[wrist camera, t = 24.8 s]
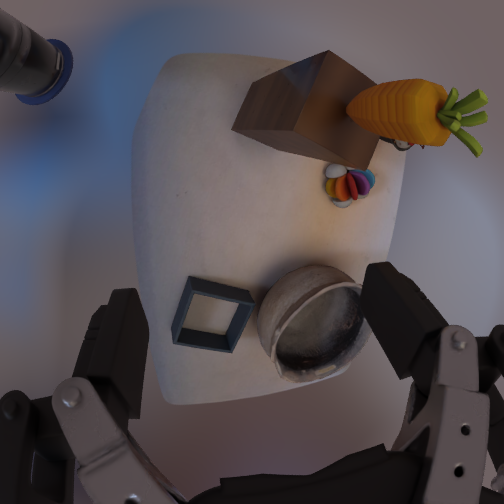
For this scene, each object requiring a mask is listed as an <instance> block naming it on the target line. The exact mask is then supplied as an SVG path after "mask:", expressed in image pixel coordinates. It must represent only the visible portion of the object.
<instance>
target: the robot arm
mask: <svg viewBox="0 0 504 504" xmlns="http://www.w3.org/2000/svg"><path fill="white" fill-rule="evenodd" d="M64 65H65V60H64V55H63V53H62V52H61V50H60V49H59V48H57V47H56V46H54V45H52V44H51V43H50V42H48V41H47V40H45V39H44V38H43V37H41V36H40V35H39V34H37V33H36V32H34V31H33V30H32V29H30V28H28V27H27V26H26V25H24V24H23V23H22V22H20V21H19V20H17V19H16V18H14V17H13V16H11V15H10V14H8V13H7V12H5V11H4V10H2V9H1V8H0V91H4V92H10V93H15V94H20V95H25V96H27V97H39V96H42V95H44V94H46V93H48V92H49V91H50V90H51V89H52V88H53V87H54V86H55V85H56V84H57V83H58V81H59V80H60V78H61V76H62V73H63V70H64ZM359 303H360V309H361V312H362V314H363V316H364V317H365V319H366V321H367V323H368V324H369V326H370V328H371V329H372V331H373V333H374V335H375V336H376V338H377V340H378V341H379V343H380V345H381V347H382V348H383V350H384V352H385V354H386V356H387V357H388V359H389V361H390V363H391V364H392V366H393V368H394V370H395V372H396V374H397V375H398V377H399V379H400V380H401V379H404V378H407V377H410V376H412V378H413V379H414V381H413V382H412V384H411V388H410V393H409V398H408V402H407V407H406V411H405V416H404V420H403V424H402V428H401V431H400V433H399V435H398V436H397V438H396V440H395V442H394V444H393V446H392V449H391V451H386V449H385V446H384V444H383V443H382V444H380V445H377V446H375V447H371V448H369V449H365V450H362V451H359V452H356V453H353V454H350V455H347V456H345V457H344V458H342V459H340V460H338V461H336V462H335V463H333V464H331V465H329V466H327V467H325V468H323V469H321V470H319V471H317V472H315V473H313V474H311V475H276V474H257V475H249V476H240V477H230V478H220V484H221V485H220V486H217V487H214V488H211V489H209V490H206V491H204V492H202V493H200V494H198V495H197V496H195V497H194V498H192V499H191V500H189V501H188V500H187V499H186V498H185V497H184V496H183V495H182V494H181V493H180V492H179V491H178V490H177V489H176V487H175V486H174V485H173V484H172V483H170V481H169V480H168V479H167V478H166V477H165V476H164V475H163V474H162V473H161V472H160V471H159V470H158V468H157V467H156V466H155V465H154V464H153V462H152V461H151V460H150V459H149V457H148V456H147V455H146V453H145V452H144V451H143V449H142V448H141V447H140V446H139V444H138V443H137V442H136V440H135V439H134V438H133V436H132V435H131V433H130V432H129V430H128V419H140V409H141V399H142V389H143V380H144V372H145V364H146V357H147V349H148V342H149V326H148V322H147V319H146V316H145V313H144V310H143V307H142V304H141V301H140V298H139V295H138V292H137V290H136V289H135V288H127V289H114V290H113V292H112V294H111V297H110V300H109V303H108V305H101V306H100V308H99V309H98V310H97V311H96V312H95V313H94V314H93V316H92V318H91V321H90V323H89V326H88V330H87V332H86V335H85V337H84V338H85V340H83V343H82V346H81V349H80V352H79V356H78V359H77V362H76V366H75V369H74V372H73V375H72V378H69V379H66V380H64V381H63V382H62V383H60V384H59V385H58V386H57V388H56V389H55V391H54V393H53V395H52V396H49V397H44V398H39V399H35V400H30V399H29V398H28V397H27V396H26V395H25V394H24V393H23V392H21V391H18V390H14V391H10V392H8V393H6V394H5V395H4V396H3V397H2V398H1V399H0V504H73V493H74V492H73V491H74V468H75V458H76V459H77V461H78V463H79V465H80V468H79V469H77V474H78V477H79V479H80V481H81V483H82V485H83V487H84V488H85V490H86V492H87V493H88V495H89V497H90V498H91V500H92V501H93V503H94V504H504V400H503V398H502V396H501V395H500V393H499V391H498V390H497V388H496V386H495V384H494V383H495V382H496V381H497V379H498V378H499V377H500V376H501V374H502V376H503V377H504V325H496V326H495V327H494V328H493V330H492V331H491V333H490V335H489V336H488V337H474V336H473V334H472V333H471V332H470V331H469V330H467V329H466V328H464V327H462V326H459V325H449V324H448V323H447V322H446V320H445V319H444V318H443V317H442V315H441V314H440V313H439V311H438V310H437V309H436V308H435V307H434V305H433V304H432V303H431V302H430V300H429V299H427V297H426V296H425V294H424V293H423V292H421V291H420V288H419V287H418V286H417V285H416V284H415V283H414V281H412V280H411V279H410V278H408V277H407V276H405V275H403V274H402V273H399V272H398V271H397V270H396V269H395V267H394V266H393V265H392V264H391V263H390V262H379V263H372V264H369V265H368V266H367V269H366V273H365V277H364V282H363V286H362V290H361V294H360V300H359ZM487 450H488V452H489V454H490V457H491V459H492V461H493V464H494V467H495V469H496V472H497V476H496V477H494V478H493V480H492V482H491V488H492V489H493V490H494V491H493V490H491V489H488V488H486V487H484V486H482V482H483V476H484V469H485V462H486V454H487ZM34 452H35V457H34V464H33V473H32V485H31V468H32V460H33V453H34ZM496 490H498V492H496Z"/></svg>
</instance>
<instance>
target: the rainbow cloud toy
mask: <svg viewBox="0 0 504 504" xmlns="http://www.w3.org/2000/svg"><path fill="white" fill-rule="evenodd" d="M346 173H347V174H346ZM326 177H328V178H329V180H328V181H327V183H326V191H327V193H328V194H329V195H330V196H331V197H333V199H332V201H333V203H334V204H335V205H336V206H337V207H340V208H345V207H348V206H349V205H350V204H351V203H352V200H357V199H363V198H365V197H366V196H367V195H368V193H369V191H370V189H371V188H372V187H373V185H374V183H375V177H374V175H373V173H372V172H371V171H370V170H368V169H367V170H366V172H365V171H361V170H358V169H354V168H350V167H347V166H343V165H339V164H335V163H334V164H331V165H329V166H328V167H327V169H326Z"/></svg>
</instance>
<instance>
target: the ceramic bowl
mask: <svg viewBox="0 0 504 504" xmlns="http://www.w3.org/2000/svg"><path fill="white" fill-rule="evenodd" d="M362 286H363V285H361V284H357V283H356V282H355V281H354V280H353V279H352V278H350V277H349V276H348V275H347V274H345V273H344V272H342V271H340V270H339V269H337V268H334V267H331V266H323V265H317V266H308V267H304V268H299V269H296V270H294V271H292V272H289V273H288V274H286V275H285V276H283V277H282V278H281V279H279V280H278V281H277V282H276V283H275V284H274V285H273V286H272V287H271V289H270V290H269V291H268V292H267V294H266V296H265V298H264V300H263V302H262V304H261V307H260V310H259V313H258V318H257V327H258V334H259V338H260V342H261V345H262V347H263V348H264V350H265V352H266V353H267V355H268V356H269V357H270V358H271V361H272V362H273V363H275V365H276V369H277V371H278V373H279V375H280V377H281V378H283V379H284V380H286V381H288V382H292V383H302V382H310V381H313V380H316V379H322V378H324V377H326V376H329V375H331V374H333V373H335V372H337V371H339V370H340V369H342V368H344V367H345V366H347V365H348V364H349V363H350V362H351V361H352V360H353V359H354V358H355V357H356V356H357V355H358V354H359V352H360V351H361V350H362V348H363V347H364V345H365V344H366V343H367V341H368V339H369V337H370V335H371V333H372V329H371V328H370V326H369V324H368V323H367V321H366V319H365V317H364V316H363V314H362V312H361V309H360V303H359V300H360V294H361V290H362Z"/></svg>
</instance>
